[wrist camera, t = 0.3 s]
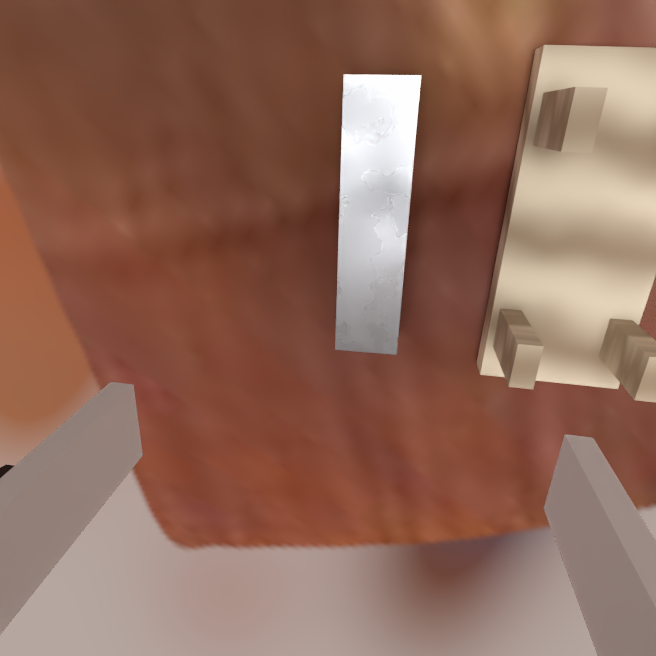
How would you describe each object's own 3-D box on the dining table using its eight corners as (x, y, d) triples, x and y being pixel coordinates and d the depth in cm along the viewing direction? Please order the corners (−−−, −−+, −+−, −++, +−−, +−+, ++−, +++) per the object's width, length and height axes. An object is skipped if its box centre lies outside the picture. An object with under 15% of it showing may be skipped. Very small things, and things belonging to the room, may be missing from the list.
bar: (351, 80, 32) (343, 74, 28) (418, 81, 32) (421, 75, 28) (342, 325, 39) (335, 349, 35) (397, 329, 39) (396, 354, 35)
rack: (535, 49, 30) (577, 26, 23) (709, 54, 29) (813, 31, 21) (476, 362, 39) (493, 418, 31) (607, 375, 38) (656, 437, 30)
